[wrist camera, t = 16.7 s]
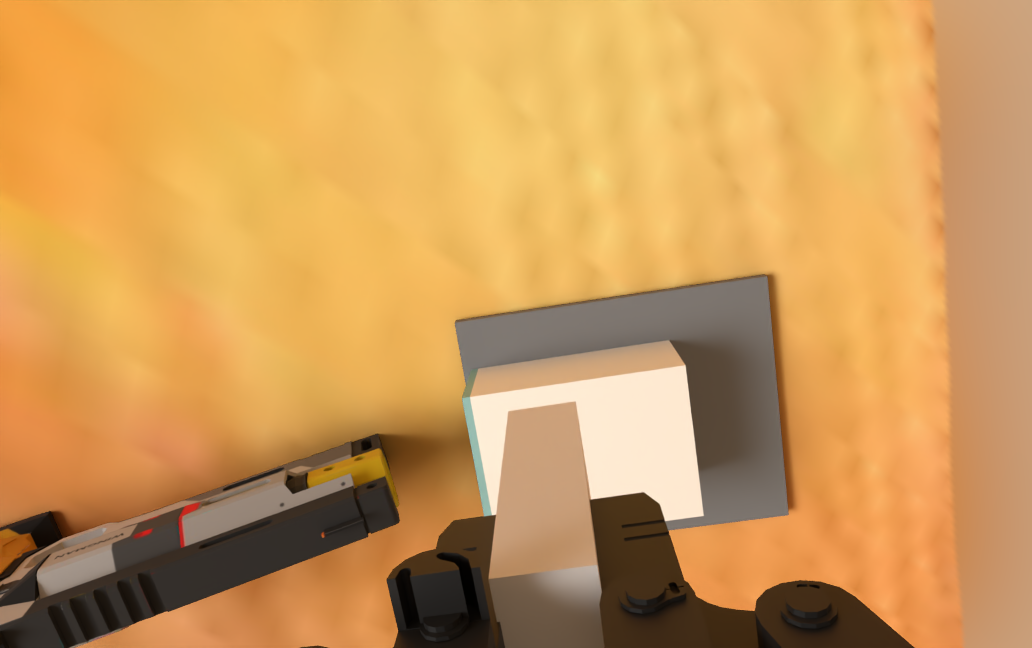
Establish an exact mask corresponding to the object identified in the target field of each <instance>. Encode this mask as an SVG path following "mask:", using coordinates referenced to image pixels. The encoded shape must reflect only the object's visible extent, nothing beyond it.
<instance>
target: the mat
mask: <svg viewBox="0 0 1032 648" xmlns="http://www.w3.org/2000/svg"><path fill="white" fill-rule="evenodd" d="M455 327H456V333H457V338H458V344H459V349H460V355H461V360H462V366H463V371H464V377H465V382H466V384H467V381H468V378H469V375H470V372H471V370H472V369H479V368H486V367H492V366H499V365H506V364H512V363H519V362H526V361H532V360H539V359H546V358H552V357H559V356H566V355H572V354H579V353H586V352H592V351H599V350H606V349H612V348H619V347H626V346H633V345H639V344H646V343H653V342H659V341H666V340H669V341H670V342H671V344H672V345H673V347H674V349H675V350H676V352H677V353H678V355H679V356H680V358H681V359H682V361H683V362H684V364H685V365H686V374H687V382H688V390H689V398H690V407H691V415H692V423H693V431H694V440H695V448H696V456H697V464H698V473H699V481H700V489H701V497H702V506H703V514H704V516H700V517H692V518H685V519H677V520H670V521H665V522H666V525H667V528H668V530H675V529H683V528H691V527H698V526H706V525H714V524H722V523H730V522H738V521H746V520H753V519H761V518H769V517H777V516H785V515H789V514H788V503H787V492H786V481H785V469H784V458H783V447H782V436H781V424H780V413H779V402H778V391H777V379H776V368H775V357H774V346H773V334H772V323H771V312H770V301H769V290H768V278H767V276H766V275H757V276H751V277H744V278H737V279H731V280H724V281H717V282H710V283H704V284H697V285H690V286H684V287H677V288H670V289H663V290H657V291H650V292H643V293H637V294H630V295H623V296H616V297H610V298H603V299H596V300H590V301H583V302H576V303H569V304H563V305H556V306H549V307H543V308H536V309H529V310H522V311H516V312H509V313H502V314H496V315H489V316H482V317H476V318H469V319H462V320H456V321H455Z"/></svg>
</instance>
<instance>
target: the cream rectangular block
mask: <svg viewBox="0 0 1032 648" xmlns="http://www.w3.org/2000/svg"><path fill="white" fill-rule="evenodd" d="M462 401H463V406H464V412H465V417H466V422H467V428H468V433H469V438H470V444H471V449H472V454H473V459H474V465H475V470H476V475H477V481H478V486H479V491H480V496H481V502H482V507H483V512H484V516H490V515H496V511H497V502H498V494H499V485H500V477H501V468H502V460H503V451H504V443H505V434H506V426H507V417H508V411H513V410H520V409H526V408H533V407H540V406H547V405H554V404H560V403H567V402H574V401H576V406H577V412H578V419H579V425H580V431H581V438H582V444H583V450H584V457H585V463H586V469H587V476H588V482H589V488H590V495H591V499H598V498H605V497H612V496H619V495H627V494H634V493H641V492H644V493H646V494H647V495H648V496H650V497H651V498H652V499H654V500H655V501H656V502H658V503H659V504H660V506H661V510H662V513H663V516H664V519H665V521H670V520H677V519H685V518H692V517H700V516H704V514H703V506H702V497H701V489H700V481H699V473H698V464H697V456H696V448H695V440H694V431H693V423H692V415H691V407H690V398H689V390H688V382H687V374H686V365H685V364H684V362H683V361H682V359H681V358H680V356H679V355H678V353H677V352H676V350H675V349H674V347H673V345H672V344H671V342H670V341H669V340H666V341H659V342H653V343H646V344H639V345H633V346H626V347H619V348H612V349H606V350H599V351H592V352H586V353H579V354H572V355H566V356H559V357H552V358H546V359H539V360H532V361H526V362H519V363H512V364H506V365H499V366H492V367H486V368H479V369H472V370H471V372H470V375H469V378H468V381H467V384H466V387H465V390H464V393H463V396H462Z"/></svg>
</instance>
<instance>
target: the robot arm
mask: <svg viewBox="0 0 1032 648" xmlns="http://www.w3.org/2000/svg"><path fill="white" fill-rule="evenodd" d="M387 584H388V588H389V593H390V597H391V601H392V606H393V610H394V614H395V618H396V623H397V627H398V634H397V638H396V642H395V645H394V647H393V648H914V647H913V646H912V645H911V644H910V643H908V642H907V641H906V640H905V639H904V638H903V637H901V636H900V635H899V634H898V633H897V632H896V631H894V630H893V629H892V628H891V627H890V626H889V625H887V624H886V623H885V622H884V621H883V620H882V619H880V618H879V617H878V616H877V615H876V614H875V613H874V612H872V611H871V610H870V609H869V608H868V607H867V606H865V605H864V604H863V603H862V602H861V601H860V600H858V599H857V598H856V597H855V596H853V595H851V594H850V593H848V592H846V591H845V590H843V589H842V588H840V587H837V586H833V585H830V584H826V583H823V582H816V581H801V580H799V581H793V582H786V583H781V584H778V585H776V586H774V587H772V588H770V589H767V590H766V591H765V592H764V593H763V594H762V595H761V596H760V597H759V598H758V599H757V601H756V608H755V611H746V610H735V609H729V608H722V607H719V606H716V605H713V604H710V603H707V602H705V601H703V600H702V599H700V598H698V597H696V595H695V592H694V591H693V589H692V588H691V586H690V585H689V583H688V582H686V581H684V578H683V575H682V572H681V569H680V565H679V562H678V559H677V556H676V553H675V550H674V547H673V544H672V541H671V538H670V535H669V531H668V528H667V525H666V522H665V519H664V516H663V513H662V510H661V506H660V504H659V503H658V502H656V501H655V500H654V499H652V498H651V497H650V496H648V495H647V494H646V493H644V492H641V493H634V494H627V495H619V496H612V497H605V498H598V499H591V495H590V488H589V482H588V476H587V469H586V463H585V457H584V450H583V444H582V438H581V431H580V425H579V419H578V412H577V406H576V401H574V402H567V403H560V404H554V405H547V406H540V407H533V408H526V409H520V410H513V411H508V417H507V426H506V434H505V443H504V451H503V460H502V468H501V477H500V485H499V494H498V502H497V511H496V515H490V516H483V517H476V518H468V519H461V520H454V521H453V522H452V523H451V524H450V525H449V526H448V527H447V528H446V529H445V530H444V532H443V533H442V534H441V535H440V536H439V539H438V543H437V547H436V549H434V550H430V551H426V552H422V553H419V554H417V555H415V556H413V557H411V558H408V559H406V560H405V561H403V562H402V563H401V564H399V565H398V566H397V567H395V568H394V569H393V570H392V572H391V573H390V575H389V577H388V578H387ZM301 648H327V647H322V646H310V647H301Z"/></svg>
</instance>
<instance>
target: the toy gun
mask: <svg viewBox="0 0 1032 648" xmlns="http://www.w3.org/2000/svg"><path fill="white" fill-rule="evenodd" d="M398 506H399V501H398V496H397V493H396V489H395V486H394V483H393V479H392V476H391V473H390V469H389V464H388V461H387V458H386V456H385V453H384V450H383V447H382V444H381V441H380V439H379V436H378V434H375V435H372V436H369V437H366V438H363V439H360V440H358V441H355V442H351V441H350V442H347V443H345V445H342V446H339V447H336V448H332V449H330V450H327V451H325V452H322V453H319V454H315V455H313V456H311V457H308V458H305V459H302V460H300V459H299V460H296V461H294V462H291V463H288V464H285V465H282V466H279V467H277V468H274V469H271V470H268V471H265V472H262V473H260V474H257V475H254V476H251V477H248V478H245V479H243V480H240V481H237V482H234V483H231V484H228V485H226V486H223V487H220V488H217V489H214V490H211V491H209V492H206V493H203V494H200V495H197V496H194V497H192V498H189V499H186V500H183V501H180V502H177V503H175V504H172V505H169V506H166V507H163V508H160V509H158V510H155V511H152V512H149V513H146V514H143V515H140V516H137V517H134V518H130V519H127V520H124V521H121V522H117V523H106V524H103V525H101V526H98V527H95V528H92V529H89V530H86V531H83V532H80V533H77V534H74V535H71V536H68V537H65V538H62V536H61V533H60V531H59V529H58V527H57V525H56V523H55V520H54V518H53V516H52V514H51V512H50V511H49V512H45V513H42V514H39V515H36V516H33V517H30V518H27V519H24V520H21V521H19V522H16V523H13V524H10V525H7V526H4V527H1V528H0V648H75V647H78V646H80V645H83V644H86V643H88V642H91V641H94V640H96V639H99V638H102V637H104V636H107V635H110V634H112V633H115V632H118V631H120V630H123V629H125V628H127V627H129V625H132V624H135V623H136V622H139V621H142V620H144V619H148V618H151V617H153V616H156V615H158V614H160V613H163V612H166V611H168V612H169V611H172V610H174V609H177V608H180V607H182V606H185V605H188V604H190V603H193V602H196V601H198V600H201V599H204V598H206V597H209V596H212V595H214V594H217V593H220V592H222V591H225V590H228V589H230V588H233V587H236V586H238V585H241V584H244V583H246V582H249V581H252V580H254V579H257V578H260V577H262V576H265V575H268V574H270V573H273V572H276V571H278V570H281V569H284V568H286V567H289V566H292V565H294V564H297V563H300V562H302V561H305V560H308V559H310V558H313V557H316V556H318V555H321V554H324V553H326V552H329V551H332V550H334V549H337V548H340V547H342V546H345V545H348V544H350V543H353V542H356V541H358V540H361V539H364V538H366V537H368V533H371V534H372V533H374V532H377V531H380V530H382V529H385V528H388V527H390V526H393V525H396V524H397V523H399V521H400V520H399V514H398V511H397V508H396V507H398Z"/></svg>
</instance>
